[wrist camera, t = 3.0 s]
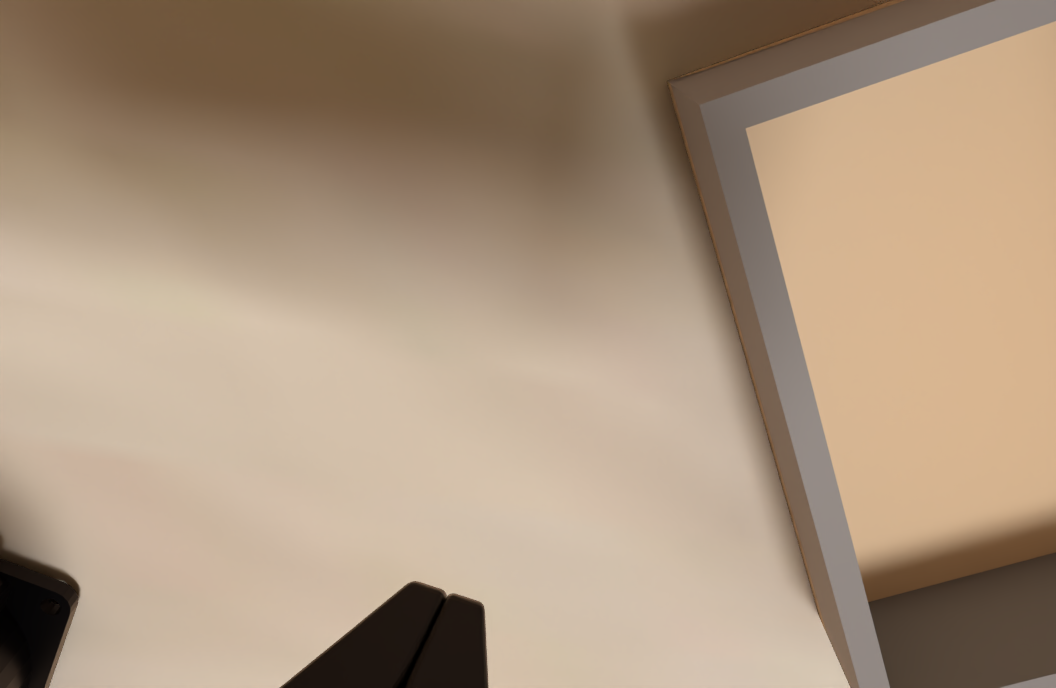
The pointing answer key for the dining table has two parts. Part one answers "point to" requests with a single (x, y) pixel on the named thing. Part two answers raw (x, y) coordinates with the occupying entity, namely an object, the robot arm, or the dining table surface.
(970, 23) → the box
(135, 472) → the dining table surface
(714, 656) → the dining table surface
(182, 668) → the dining table surface
